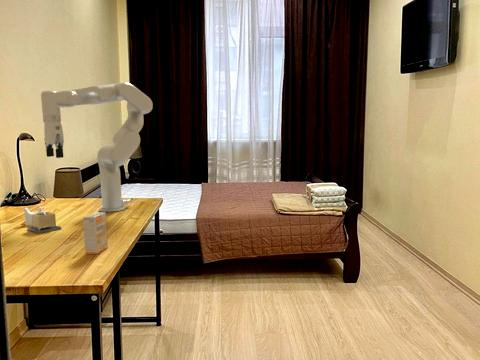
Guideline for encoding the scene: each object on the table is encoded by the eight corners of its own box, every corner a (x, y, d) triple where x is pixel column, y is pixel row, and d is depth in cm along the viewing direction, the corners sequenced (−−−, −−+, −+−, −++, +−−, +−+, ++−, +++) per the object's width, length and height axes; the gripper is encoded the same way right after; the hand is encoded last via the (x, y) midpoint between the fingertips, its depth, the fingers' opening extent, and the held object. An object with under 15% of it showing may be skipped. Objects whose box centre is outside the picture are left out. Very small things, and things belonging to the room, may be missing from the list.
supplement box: (98, 254, 165) (95, 217, 163) (84, 254, 166) (82, 216, 164) (108, 247, 173) (106, 211, 171) (96, 247, 174) (93, 211, 172)
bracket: (42, 224, 212) (41, 207, 211) (25, 226, 211) (23, 209, 210) (48, 218, 225) (47, 202, 224) (32, 219, 223) (30, 203, 222)
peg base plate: (51, 225, 209) (49, 209, 208) (61, 229, 202) (60, 212, 201) (27, 229, 202) (26, 213, 201) (37, 233, 195) (35, 216, 194)
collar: (49, 222, 207) (48, 211, 206) (56, 225, 202) (55, 213, 201) (32, 226, 202) (31, 214, 201) (39, 228, 197) (38, 216, 196)
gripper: (68, 118, 213) (71, 157, 216) (51, 118, 225) (54, 155, 228) (52, 119, 208) (55, 158, 210) (35, 119, 220) (38, 156, 223)
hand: (55, 157), depth 219 cm, fingers open, 9 cm apart
